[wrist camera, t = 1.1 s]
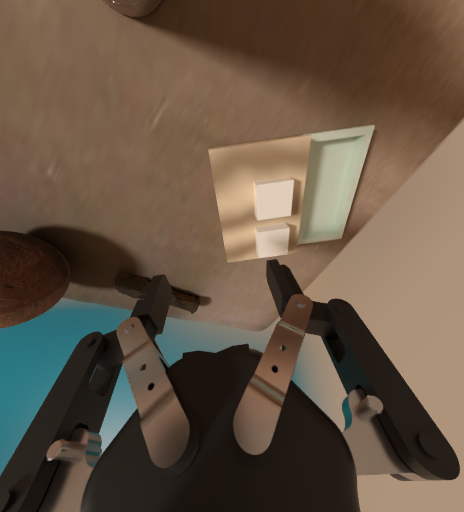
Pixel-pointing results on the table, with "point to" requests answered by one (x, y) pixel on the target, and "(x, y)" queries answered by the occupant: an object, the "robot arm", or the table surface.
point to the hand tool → (135, 284)
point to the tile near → (273, 198)
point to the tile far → (272, 240)
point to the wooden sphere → (29, 277)
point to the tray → (332, 181)
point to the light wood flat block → (242, 188)
